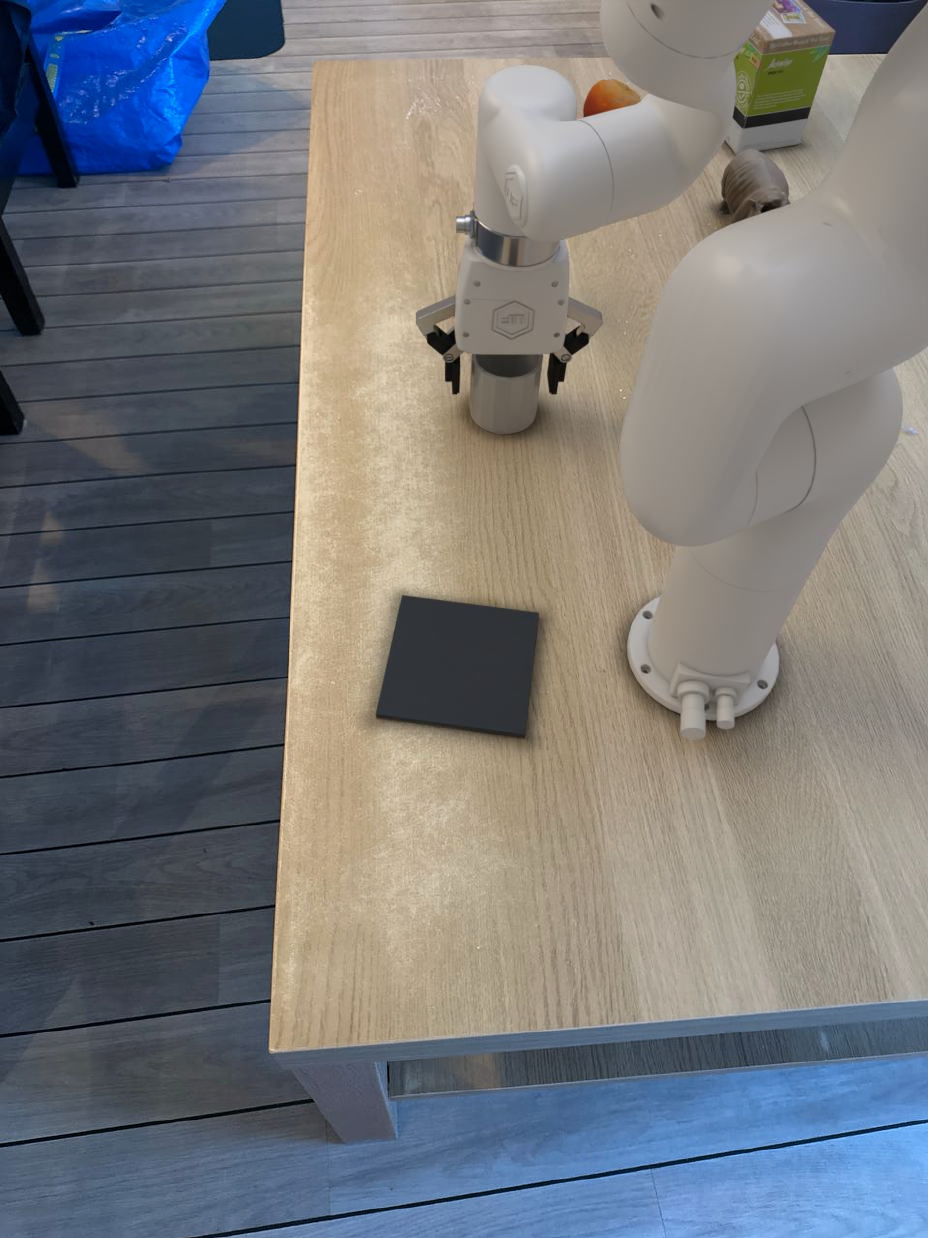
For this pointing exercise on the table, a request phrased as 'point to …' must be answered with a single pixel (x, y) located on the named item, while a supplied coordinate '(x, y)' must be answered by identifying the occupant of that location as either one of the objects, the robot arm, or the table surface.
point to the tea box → (778, 77)
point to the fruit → (609, 97)
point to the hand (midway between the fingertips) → (503, 384)
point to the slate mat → (460, 666)
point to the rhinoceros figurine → (752, 186)
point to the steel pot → (504, 391)
